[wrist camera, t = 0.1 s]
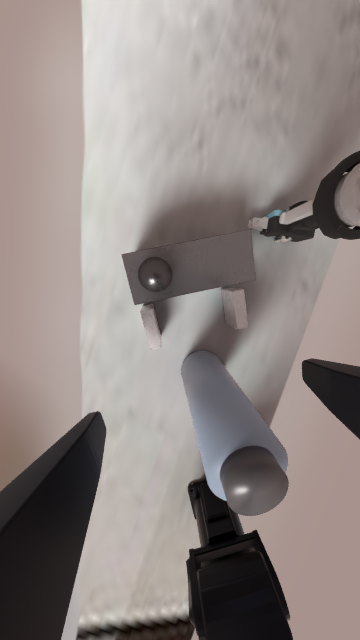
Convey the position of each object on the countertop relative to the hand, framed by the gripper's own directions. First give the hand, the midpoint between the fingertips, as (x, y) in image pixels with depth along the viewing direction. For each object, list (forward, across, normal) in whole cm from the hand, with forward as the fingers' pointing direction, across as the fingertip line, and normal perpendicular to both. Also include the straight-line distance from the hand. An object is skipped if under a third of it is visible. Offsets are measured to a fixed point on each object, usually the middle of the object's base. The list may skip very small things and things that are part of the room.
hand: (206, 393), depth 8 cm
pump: (+15, -2, +7) cm, 16 cm away
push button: (+15, -13, -8) cm, 21 cm away
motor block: (+15, -2, -3) cm, 15 cm away
